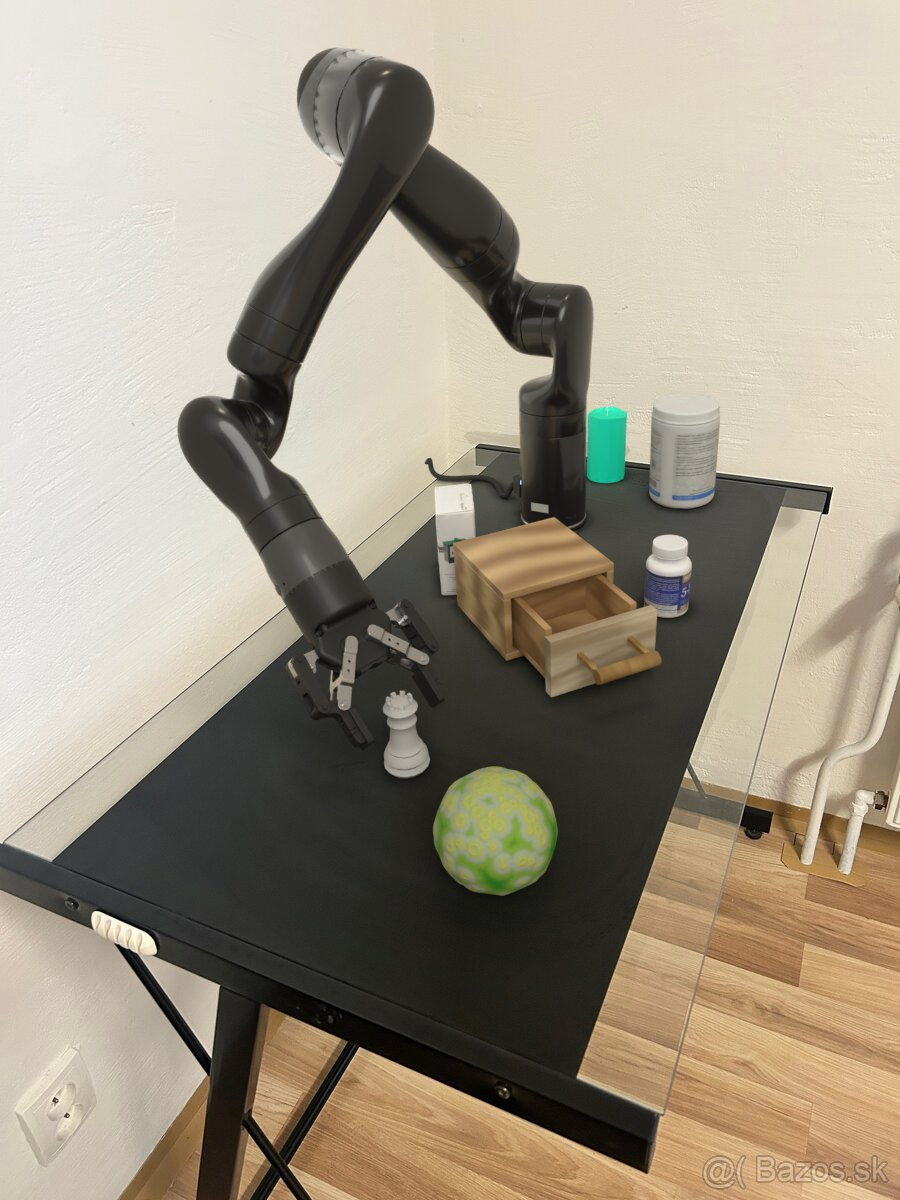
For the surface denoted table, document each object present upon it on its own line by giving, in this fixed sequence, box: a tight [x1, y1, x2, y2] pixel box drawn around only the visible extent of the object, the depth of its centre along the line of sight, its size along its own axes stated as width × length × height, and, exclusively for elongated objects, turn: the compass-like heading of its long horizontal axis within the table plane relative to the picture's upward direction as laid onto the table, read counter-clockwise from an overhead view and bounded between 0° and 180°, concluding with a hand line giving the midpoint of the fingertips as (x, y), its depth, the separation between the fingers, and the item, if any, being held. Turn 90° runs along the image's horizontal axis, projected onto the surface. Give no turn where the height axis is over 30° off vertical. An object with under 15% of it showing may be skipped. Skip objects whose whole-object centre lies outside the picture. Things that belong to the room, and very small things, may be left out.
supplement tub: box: [648, 393, 721, 510], centre depth 129 cm, size 10×10×15 cm
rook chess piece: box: [382, 690, 431, 779], centre depth 83 cm, size 4×4×8 cm
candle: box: [586, 402, 628, 484], centre depth 138 cm, size 6×6×12 cm
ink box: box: [434, 483, 477, 596], centre depth 113 cm, size 9×5×12 cm, turn 2°
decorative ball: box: [432, 766, 559, 897], centre depth 70 cm, size 10×10×10 cm
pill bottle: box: [643, 534, 693, 619], centre depth 104 cm, size 5×5×9 cm
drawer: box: [511, 574, 662, 698], centre depth 94 cm, size 18×13×7 cm
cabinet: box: [453, 517, 615, 662], centre depth 104 cm, size 14×14×9 cm
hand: (405, 724), depth 82 cm, fingers open, 8 cm apart
